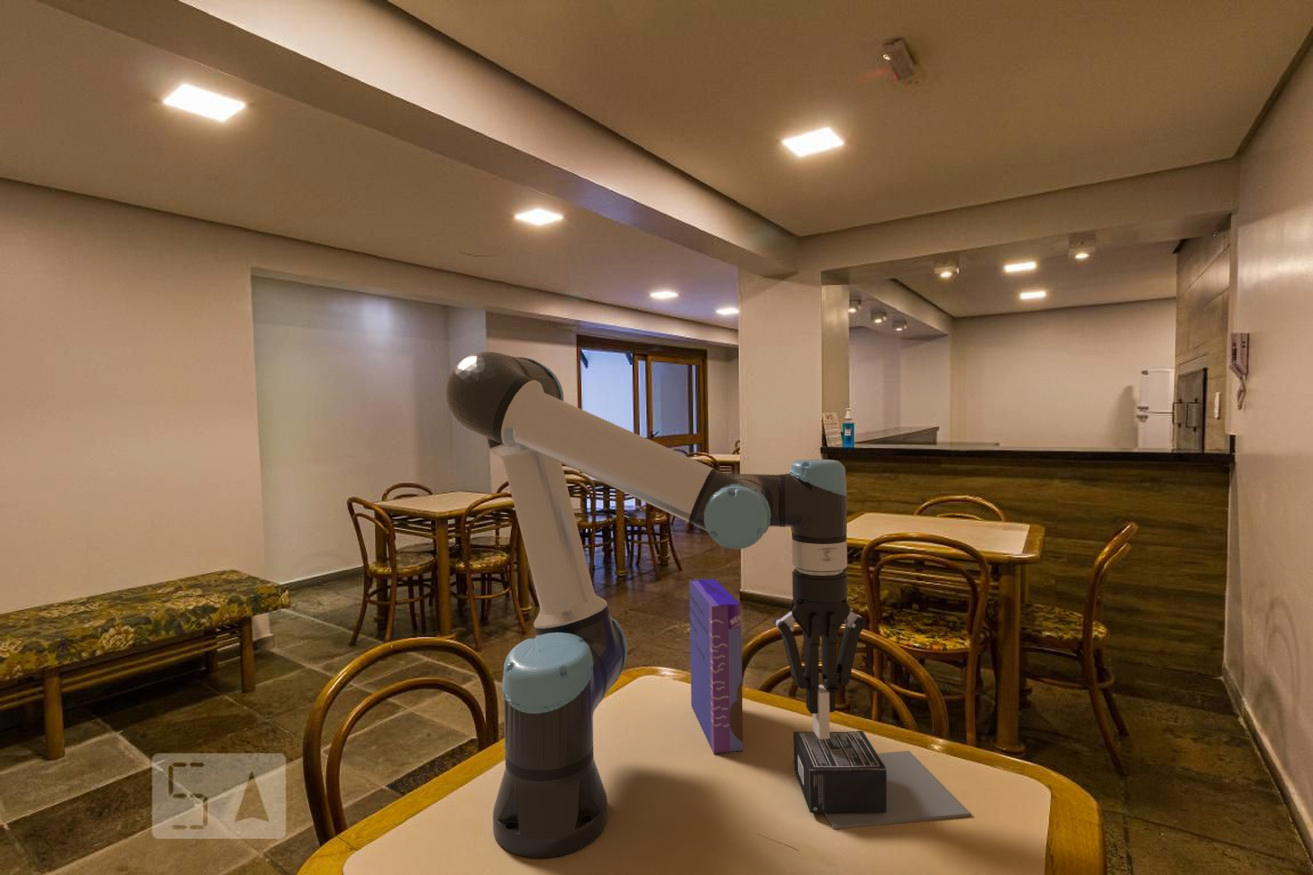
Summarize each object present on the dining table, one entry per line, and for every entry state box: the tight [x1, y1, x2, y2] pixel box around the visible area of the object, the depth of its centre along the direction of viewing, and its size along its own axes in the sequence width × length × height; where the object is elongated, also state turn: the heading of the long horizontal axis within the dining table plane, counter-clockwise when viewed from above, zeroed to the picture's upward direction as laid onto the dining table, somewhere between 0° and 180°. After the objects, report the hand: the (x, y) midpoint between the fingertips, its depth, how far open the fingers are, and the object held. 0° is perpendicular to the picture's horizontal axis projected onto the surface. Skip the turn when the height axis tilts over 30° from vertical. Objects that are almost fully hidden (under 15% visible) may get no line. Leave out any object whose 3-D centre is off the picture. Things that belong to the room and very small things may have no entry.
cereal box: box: [688, 577, 744, 755], centre depth 109 cm, size 17×5×24 cm, turn 9°
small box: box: [793, 730, 887, 814], centre depth 89 cm, size 11×6×10 cm
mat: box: [792, 750, 972, 830], centre depth 91 cm, size 19×16×1 cm
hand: (821, 733), depth 90 cm, fingers closed
